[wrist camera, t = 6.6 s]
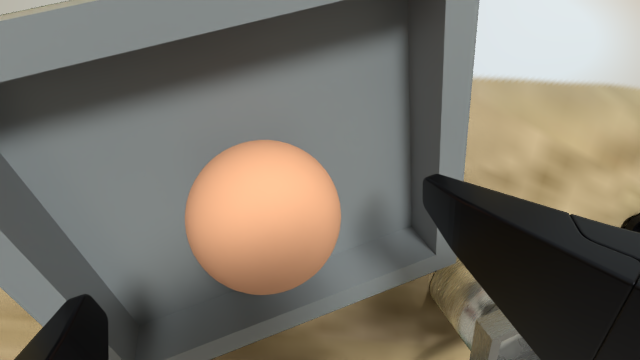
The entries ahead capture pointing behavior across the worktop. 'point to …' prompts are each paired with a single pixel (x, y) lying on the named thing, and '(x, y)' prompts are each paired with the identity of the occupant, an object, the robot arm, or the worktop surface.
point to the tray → (213, 138)
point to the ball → (262, 217)
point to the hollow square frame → (477, 316)
